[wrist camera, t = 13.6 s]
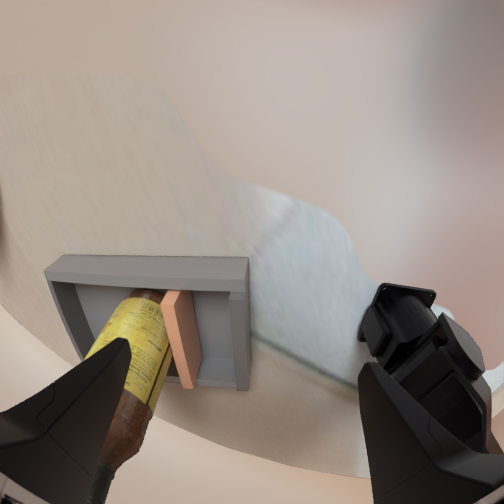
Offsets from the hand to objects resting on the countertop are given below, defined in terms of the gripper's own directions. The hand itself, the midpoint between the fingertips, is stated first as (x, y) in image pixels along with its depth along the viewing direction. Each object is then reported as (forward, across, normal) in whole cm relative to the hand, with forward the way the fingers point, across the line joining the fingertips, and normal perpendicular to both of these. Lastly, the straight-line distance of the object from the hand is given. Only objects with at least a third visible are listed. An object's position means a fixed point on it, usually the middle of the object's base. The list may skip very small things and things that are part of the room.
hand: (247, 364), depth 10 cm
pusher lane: (+13, +10, +10) cm, 19 cm away
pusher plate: (+13, +5, +9) cm, 16 cm away
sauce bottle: (+13, +8, +9) cm, 18 cm away
